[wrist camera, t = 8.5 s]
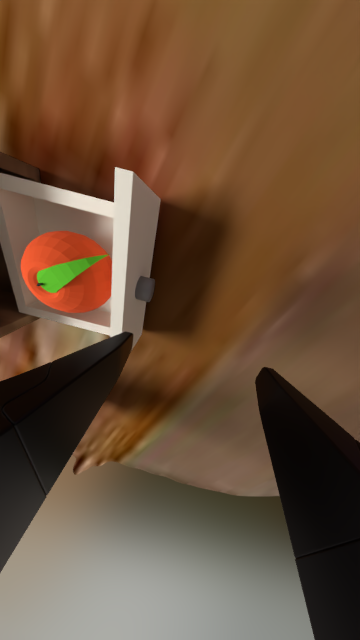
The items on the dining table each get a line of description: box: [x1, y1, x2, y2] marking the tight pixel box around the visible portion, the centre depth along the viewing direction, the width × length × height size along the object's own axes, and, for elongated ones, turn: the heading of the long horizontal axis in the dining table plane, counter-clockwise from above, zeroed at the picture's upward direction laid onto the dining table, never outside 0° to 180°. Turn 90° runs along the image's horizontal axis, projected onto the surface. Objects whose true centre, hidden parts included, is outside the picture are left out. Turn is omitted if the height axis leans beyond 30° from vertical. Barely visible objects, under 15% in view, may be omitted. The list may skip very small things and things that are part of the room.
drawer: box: [0, 167, 161, 351], centre depth 15 cm, size 15×14×7 cm
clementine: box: [21, 231, 112, 313], centre depth 14 cm, size 8×7×7 cm
